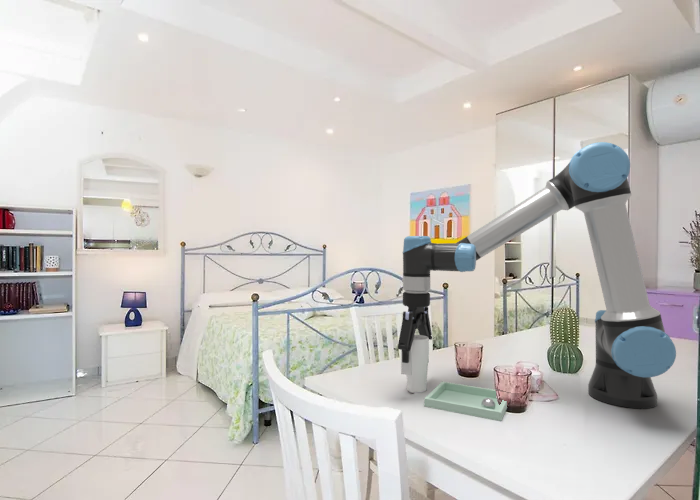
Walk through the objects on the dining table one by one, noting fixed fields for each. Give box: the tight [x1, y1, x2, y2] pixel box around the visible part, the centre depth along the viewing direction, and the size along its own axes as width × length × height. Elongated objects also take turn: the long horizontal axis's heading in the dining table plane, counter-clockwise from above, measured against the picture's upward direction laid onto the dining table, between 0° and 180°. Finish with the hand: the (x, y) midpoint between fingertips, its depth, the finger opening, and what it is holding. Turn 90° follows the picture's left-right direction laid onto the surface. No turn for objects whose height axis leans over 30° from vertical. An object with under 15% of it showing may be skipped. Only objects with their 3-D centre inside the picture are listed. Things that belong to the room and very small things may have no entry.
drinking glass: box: [405, 334, 430, 394], centre depth 113 cm, size 7×7×15 cm
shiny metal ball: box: [481, 398, 495, 410], centre depth 97 cm, size 3×3×3 cm
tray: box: [423, 380, 508, 422], centre depth 103 cm, size 18×15×2 cm
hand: (415, 368), depth 113 cm, fingers open, 13 cm apart
